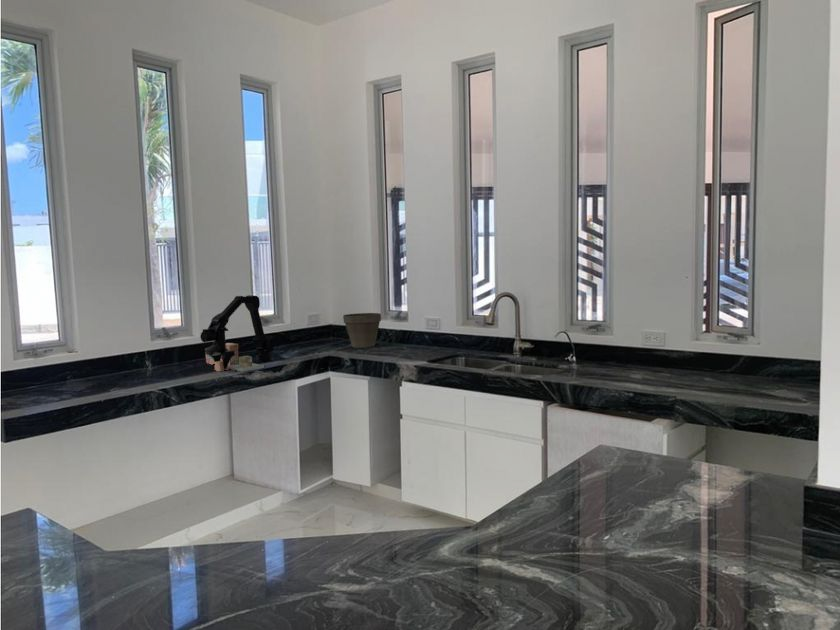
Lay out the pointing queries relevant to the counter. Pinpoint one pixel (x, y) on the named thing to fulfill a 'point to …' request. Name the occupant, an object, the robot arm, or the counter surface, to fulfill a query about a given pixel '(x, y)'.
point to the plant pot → (362, 328)
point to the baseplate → (240, 368)
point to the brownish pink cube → (219, 366)
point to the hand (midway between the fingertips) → (221, 368)
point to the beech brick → (245, 361)
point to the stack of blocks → (234, 359)
